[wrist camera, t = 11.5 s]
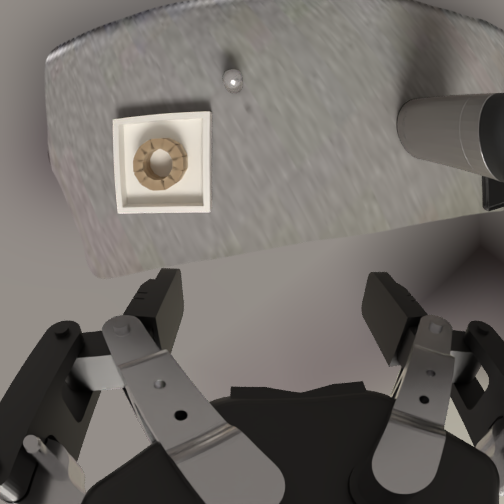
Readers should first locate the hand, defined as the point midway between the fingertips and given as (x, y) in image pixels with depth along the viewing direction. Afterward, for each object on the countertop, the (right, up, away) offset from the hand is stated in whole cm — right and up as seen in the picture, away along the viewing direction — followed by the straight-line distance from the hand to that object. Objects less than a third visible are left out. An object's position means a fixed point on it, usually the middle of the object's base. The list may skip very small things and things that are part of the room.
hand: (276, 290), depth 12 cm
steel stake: (-3, +23, +21) cm, 31 cm away
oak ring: (-12, +13, +24) cm, 30 cm away
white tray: (-12, +13, +24) cm, 30 cm away
